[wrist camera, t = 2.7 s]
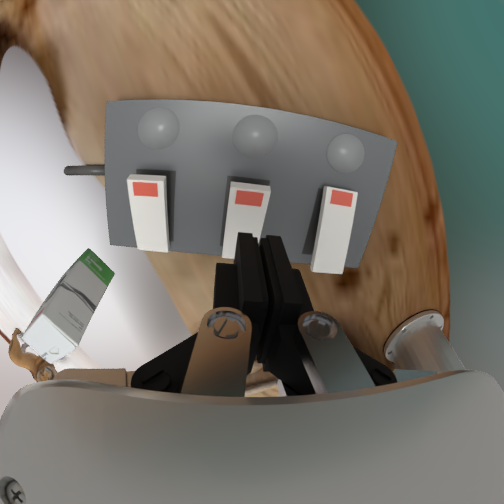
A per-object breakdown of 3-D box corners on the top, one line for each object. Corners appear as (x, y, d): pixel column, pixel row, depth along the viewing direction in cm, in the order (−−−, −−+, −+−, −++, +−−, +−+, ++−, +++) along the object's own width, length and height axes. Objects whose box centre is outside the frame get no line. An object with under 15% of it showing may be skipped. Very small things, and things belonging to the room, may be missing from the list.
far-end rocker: (339, 271, 25) (342, 274, 24) (309, 268, 25) (312, 272, 24) (353, 191, 23) (358, 192, 22) (324, 185, 23) (327, 186, 22)
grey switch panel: (348, 253, 30) (358, 268, 28) (73, 227, 26) (60, 240, 24) (382, 136, 23) (398, 141, 21) (67, 106, 19) (50, 108, 17)
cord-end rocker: (169, 246, 25) (167, 253, 24) (140, 243, 24) (137, 250, 24) (166, 176, 19) (163, 182, 19) (130, 174, 19) (126, 180, 18)
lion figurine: (64, 345, 37) (46, 384, 30) (71, 362, 40) (56, 399, 32) (9, 324, 35) (-10, 356, 27) (18, 341, 38) (1, 372, 30)
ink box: (89, 245, 28) (40, 312, 18) (117, 274, 30) (80, 347, 20) (59, 278, 30) (19, 339, 20) (84, 302, 32) (51, 366, 22)
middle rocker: (254, 254, 26) (254, 261, 25) (222, 251, 25) (221, 258, 25) (270, 186, 20) (271, 192, 20) (230, 181, 20) (230, 187, 19)
